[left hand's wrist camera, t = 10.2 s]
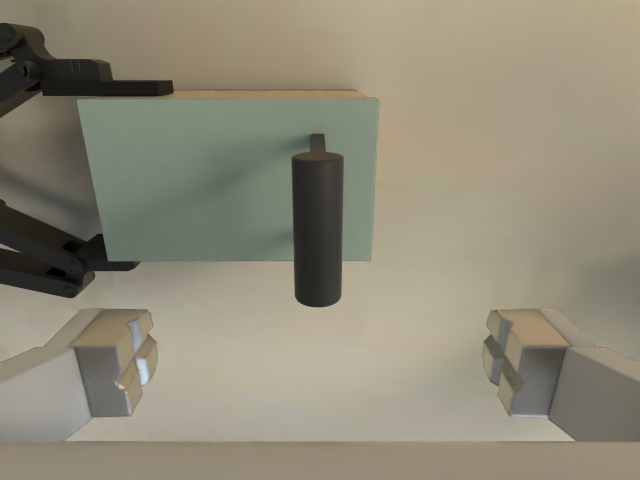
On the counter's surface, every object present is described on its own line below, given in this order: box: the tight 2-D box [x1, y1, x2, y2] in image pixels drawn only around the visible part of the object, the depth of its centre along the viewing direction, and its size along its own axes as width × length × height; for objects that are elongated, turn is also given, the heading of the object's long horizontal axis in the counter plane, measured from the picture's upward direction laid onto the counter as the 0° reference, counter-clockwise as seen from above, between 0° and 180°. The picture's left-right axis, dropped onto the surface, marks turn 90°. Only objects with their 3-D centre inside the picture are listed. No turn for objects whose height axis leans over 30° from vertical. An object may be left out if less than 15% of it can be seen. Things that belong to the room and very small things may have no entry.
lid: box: [76, 98, 379, 307], centre depth 21 cm, size 16×9×9 cm, turn 90°
